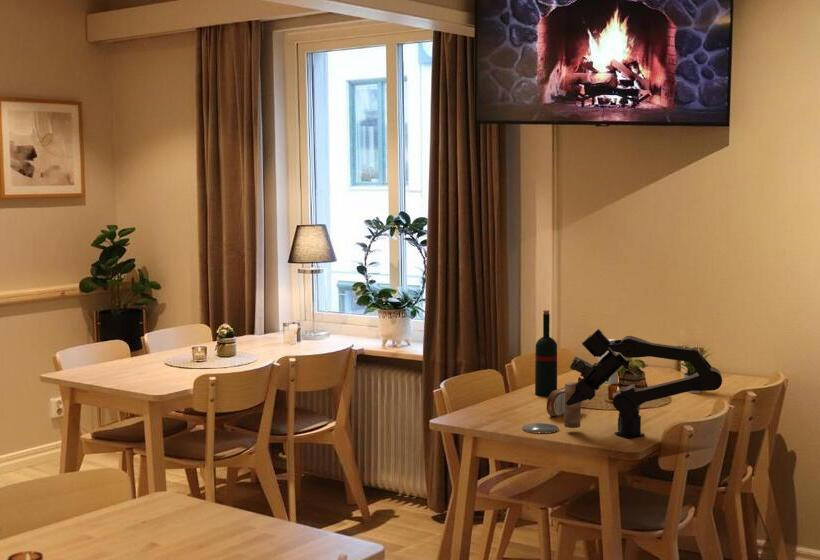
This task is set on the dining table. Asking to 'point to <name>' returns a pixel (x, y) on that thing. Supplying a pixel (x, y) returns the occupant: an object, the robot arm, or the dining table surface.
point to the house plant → (692, 369)
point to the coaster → (540, 427)
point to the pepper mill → (571, 408)
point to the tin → (556, 402)
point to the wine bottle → (545, 361)
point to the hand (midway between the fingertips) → (567, 402)
